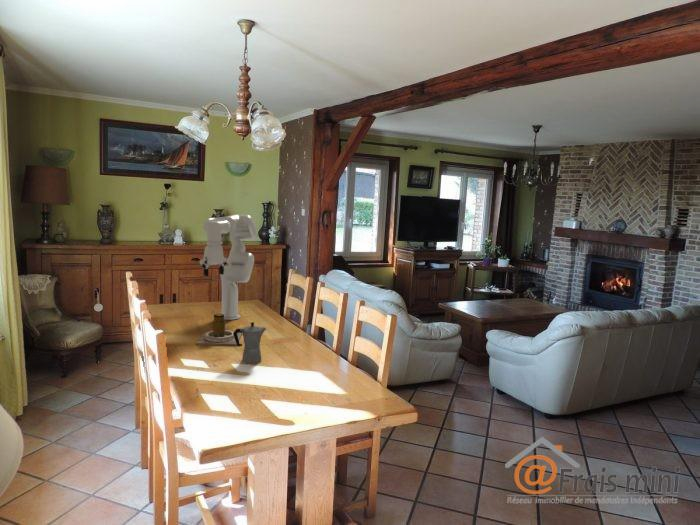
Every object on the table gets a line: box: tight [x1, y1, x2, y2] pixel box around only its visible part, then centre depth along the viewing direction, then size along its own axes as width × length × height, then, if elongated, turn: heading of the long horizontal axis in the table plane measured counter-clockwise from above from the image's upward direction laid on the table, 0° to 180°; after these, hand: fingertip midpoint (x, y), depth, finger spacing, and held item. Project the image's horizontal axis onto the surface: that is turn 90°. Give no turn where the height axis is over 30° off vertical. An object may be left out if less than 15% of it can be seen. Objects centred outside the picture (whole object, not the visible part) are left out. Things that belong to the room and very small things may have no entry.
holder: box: [195, 329, 243, 347], centre depth 255 cm, size 20×20×3 cm
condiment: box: [212, 313, 228, 337], centre depth 254 cm, size 7×8×12 cm
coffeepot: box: [233, 321, 267, 365], centre depth 225 cm, size 15×9×18 cm, turn 119°
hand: (213, 275), depth 269 cm, fingers open, 9 cm apart
